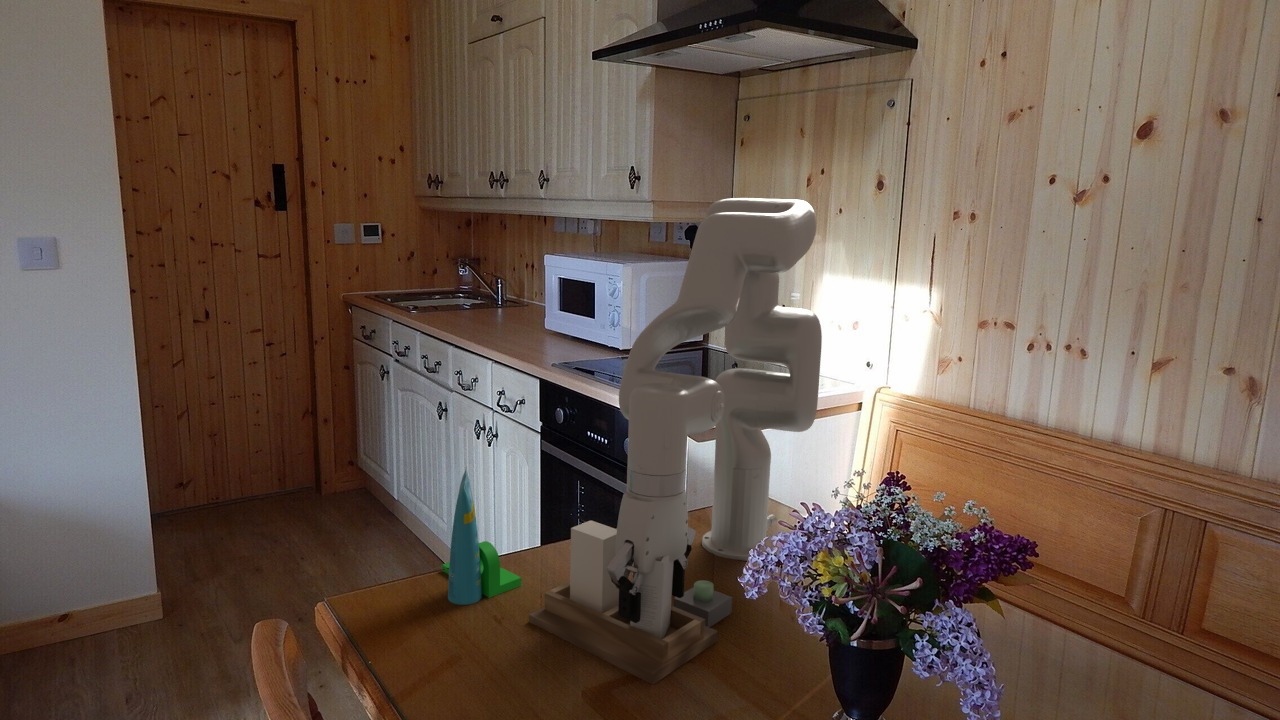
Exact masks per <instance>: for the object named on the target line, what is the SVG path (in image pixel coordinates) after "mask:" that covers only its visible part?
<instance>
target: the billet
mask: <svg viewBox="0 0 1280 720" xmlns="http://www.w3.org/2000/svg"><path fill="white" fill-rule="evenodd" d="M616 534H617V528H614V527H611V526H608V525H606V524H602V523H599V522H597V521H594V520H592V519H591V520H588V521H585V522H583V523H580V524H578V525H575V526H573V527H571V528H570V565H569V566H570V568H569V569H570V571H569V573H570V577H569V581H570V599H571V600H573V601H575V602H578V603H580V604H582V605H584V606H587V607H589V608H591V609H594V610H596V611H598V612H600V613H605V612H607V611H609V610H610V609H612V608H614V607H616V606H618V605H619V589H617V588H616V585H615V584H614V583H613V582H612V581H611V577H610V575H609V573H608V571H607V566H608V565H609V563H610V562H611V561H612V559H613V558H614V557H615V547H616Z"/></svg>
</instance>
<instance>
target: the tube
mask: <svg viewBox="0 0 1280 720" xmlns="http://www.w3.org/2000/svg"><path fill="white" fill-rule="evenodd" d="M467 468H468V467H467V466H465V469H464V472H463V475H462V477H461V482H460V485H459V490H458V494H457V499H456V503H455V510H454V515H453V523H452V532H451V541H450V552H449V562H450V565H449V575H448V587H447V588H448V591H447V599H448V601H449V602H450V603H452V604H455V605H460V606H462V605H471V604H475V603H477V602H479V601H480V600H482V597H483V594H482V590H481V569H480V554H479V543H480V542H479V534H478V525H477V516H476V509H475V504H474V498H473V493H472V487H471V481H470V476H469V474H468V470H467Z"/></svg>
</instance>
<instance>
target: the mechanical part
mask: <svg viewBox="0 0 1280 720" xmlns="http://www.w3.org/2000/svg"><path fill="white" fill-rule="evenodd" d="M479 554H480V569H481V590H482V596H485V597H487V598H488V599H489V598H493V597H495V596H498V595H500V594H503V593H505V592H508V591H511V590H514V589H517V588H519V587H522V577H520V576H519V575H517V574H515V573H513V572H511V571H509V570H507V569H505V568H503V567H501V560H500V557H499V554H498V551H497V549H496V547H495V546H494V545H493V544H492V543H491V542H489V541H481V542H479ZM449 565H450V561H449V562H447V563H443V564H441V571H442V572H443V573H445V574H446V575H448V576H449V569H447V568H449ZM443 569H445V570H443Z"/></svg>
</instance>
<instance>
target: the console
mask: <svg viewBox="0 0 1280 720" xmlns="http://www.w3.org/2000/svg"><path fill="white" fill-rule="evenodd" d="M673 607H676V608H678V609H681V610H683V611H686V612H688V613H691V614H693V615H696V616H698V617H701V618H703V619H705V626H707V627H709V628H712V626H714V625H715V624H717V623H718V622H720V621H722V620H724V618H727V617H728V616H729V615H731V614H732V612H733V608H732V607H733V597H732V596H730V595H727V594H725V593H724V592H723V593H722V592H719V591H717V590H715V589H713V600H712V601H710V602H699V601H697V600H695V599H694V586H693V587H691V588H690V589H687V590H686V591H684V596H683V597H681V598H678V597H675V596H674V598H673Z"/></svg>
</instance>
